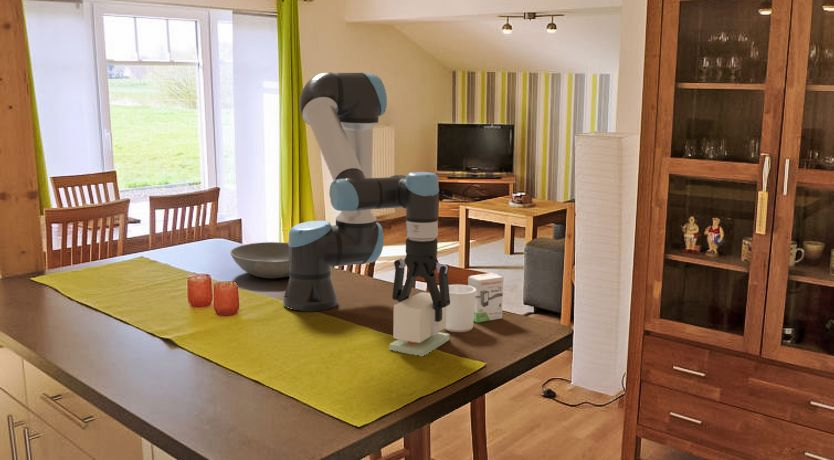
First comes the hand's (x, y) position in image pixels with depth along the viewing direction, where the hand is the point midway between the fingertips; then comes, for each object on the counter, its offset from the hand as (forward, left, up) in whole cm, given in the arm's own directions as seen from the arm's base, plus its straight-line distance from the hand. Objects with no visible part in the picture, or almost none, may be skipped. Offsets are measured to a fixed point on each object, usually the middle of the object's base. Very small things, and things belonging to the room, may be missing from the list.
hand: (420, 331), depth 190 cm
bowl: (-73, +37, -4) cm, 82 cm away
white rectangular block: (0, 0, 0) cm, 0 cm away
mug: (+1, +17, -4) cm, 18 cm away
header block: (0, 0, -3) cm, 3 cm away
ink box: (+5, +28, -4) cm, 29 cm away
